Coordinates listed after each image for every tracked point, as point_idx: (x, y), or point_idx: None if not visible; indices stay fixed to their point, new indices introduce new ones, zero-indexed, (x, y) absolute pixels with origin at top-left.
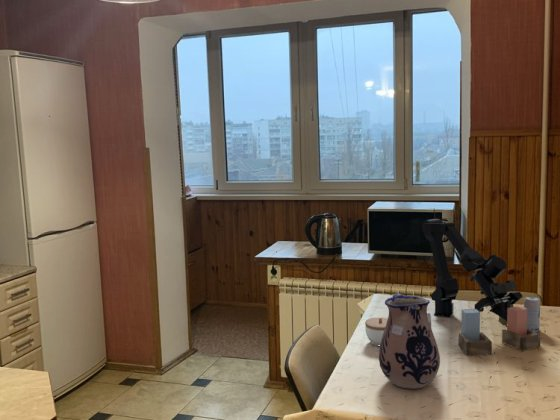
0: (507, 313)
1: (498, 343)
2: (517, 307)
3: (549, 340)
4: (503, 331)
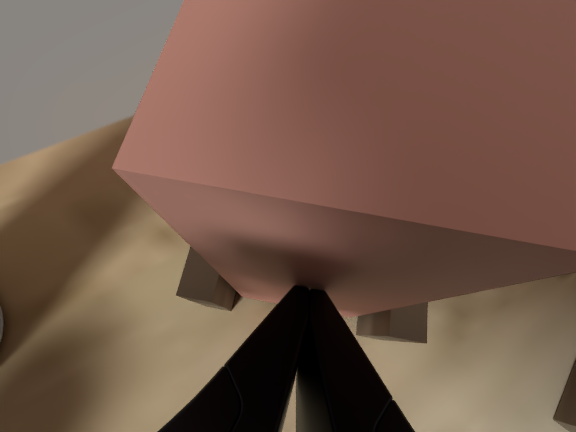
0: (495, 285)
1: (419, 346)
2: (294, 92)
3: (113, 152)
4: (423, 323)
